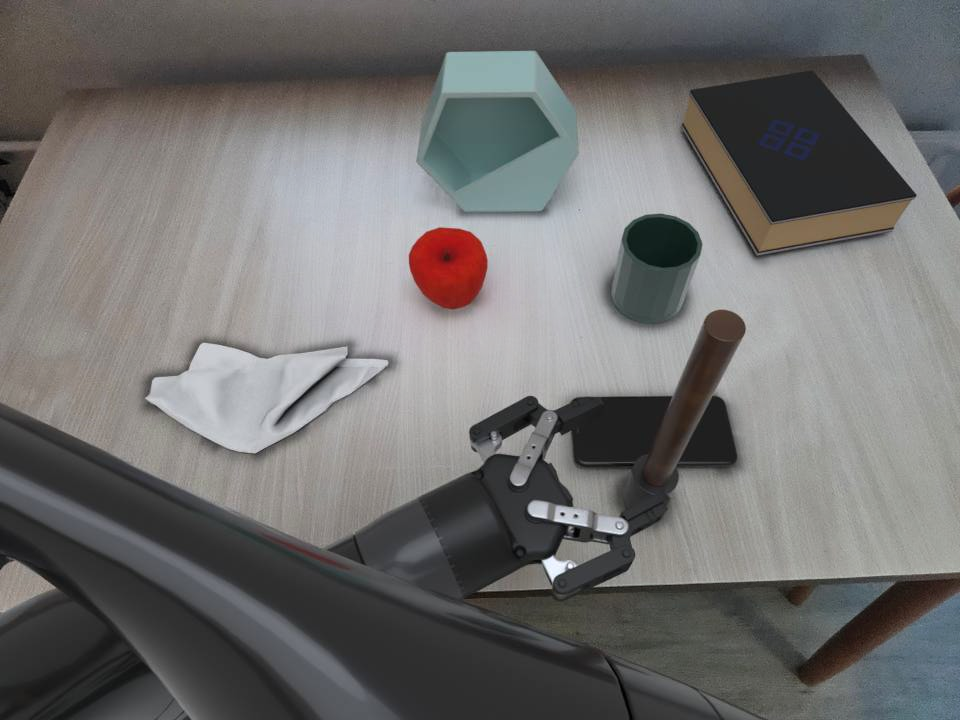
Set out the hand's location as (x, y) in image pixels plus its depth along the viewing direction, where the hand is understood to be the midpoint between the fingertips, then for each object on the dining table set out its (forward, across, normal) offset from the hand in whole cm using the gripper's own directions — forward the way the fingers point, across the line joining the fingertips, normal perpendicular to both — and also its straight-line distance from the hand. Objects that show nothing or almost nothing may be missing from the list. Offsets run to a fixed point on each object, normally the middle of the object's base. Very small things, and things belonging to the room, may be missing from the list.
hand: (631, 449), depth 48 cm
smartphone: (+9, +6, +15) cm, 18 cm away
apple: (-1, +32, +15) cm, 35 cm away
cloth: (-25, +29, +15) cm, 41 cm away
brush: (+4, 0, +15) cm, 16 cm away
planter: (+12, +44, +15) cm, 48 cm away
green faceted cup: (+19, +20, +15) cm, 32 cm away
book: (+45, +28, +15) cm, 55 cm away
